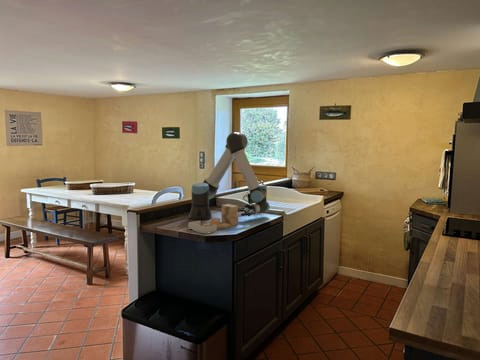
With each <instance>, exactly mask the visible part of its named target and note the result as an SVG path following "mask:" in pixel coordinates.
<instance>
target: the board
mask: <svg viewBox="0 0 480 360" xmlns="http://www.w3.org/2000/svg"><path fill="white" fill-rule="evenodd" d="M201 226H204V227H206V226H211V225H210V221H208V222H204V223H201ZM229 227H230V228H231V226H230V224H227V223H223V222H221V221H220V225H219V226H217V231H221V230H220V229H222V230H226V229H230V228H229ZM225 228H226V229H225Z"/></svg>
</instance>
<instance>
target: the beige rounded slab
mask: <svg viewBox="0 0 480 360" xmlns="http://www.w3.org/2000/svg"><path fill="white" fill-rule="evenodd" d="M201 222H202V220H194V221H190V222H188V224H187V226H188V228H187V230H189V229H192V230H195V231H194V232H196V231H198V232H197V233H199V232H202V233H201V234H203V233H207V234H209V233H208V232H211V233H214V232H213V231H216V232H218V230H217V224H215V225H211V226H206V227H204V226H201V224H202V223H201ZM192 230H191V231H192Z"/></svg>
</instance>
